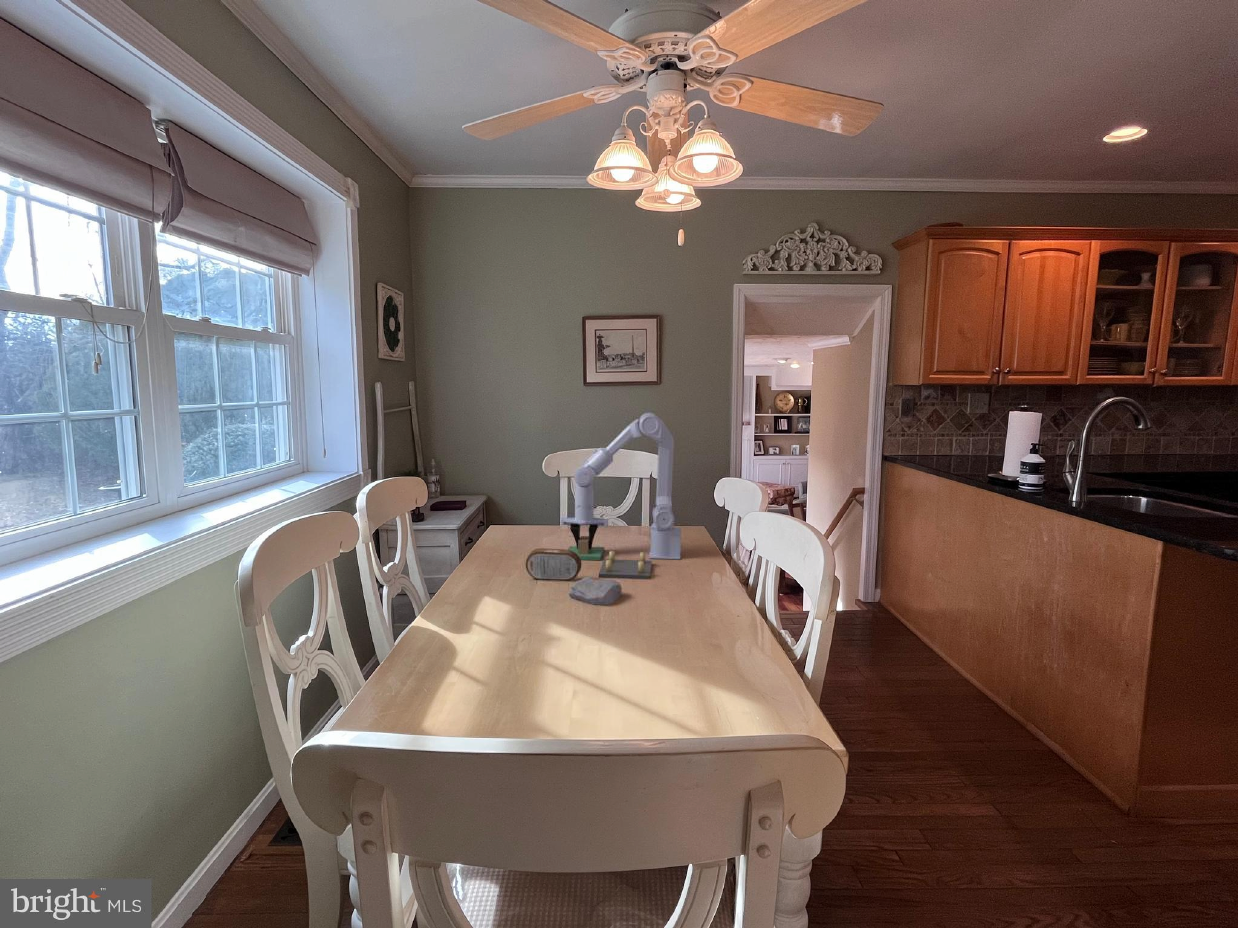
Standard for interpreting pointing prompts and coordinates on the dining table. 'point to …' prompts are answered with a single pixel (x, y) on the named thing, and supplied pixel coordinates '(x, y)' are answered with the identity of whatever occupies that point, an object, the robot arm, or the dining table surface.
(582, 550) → the board
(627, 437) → the robot arm
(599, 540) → the dining table surface
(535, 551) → the tin
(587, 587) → the stone block
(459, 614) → the dining table surface
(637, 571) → the chassis
